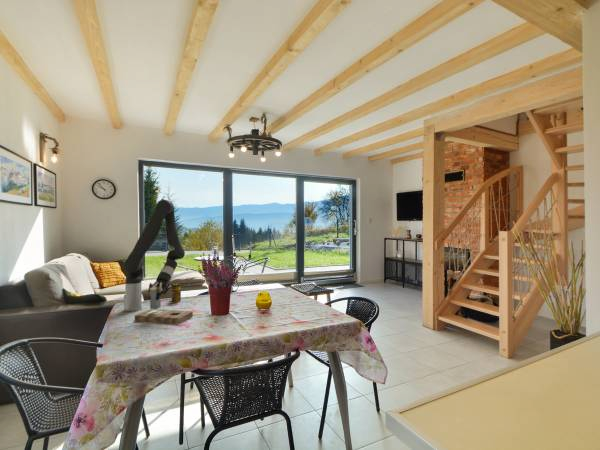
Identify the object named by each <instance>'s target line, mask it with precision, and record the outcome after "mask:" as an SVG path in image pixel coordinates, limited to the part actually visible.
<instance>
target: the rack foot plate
mask: <svg viewBox="0 0 600 450" xmlns="http://www.w3.org/2000/svg"><path fill="white" fill-rule="evenodd" d="M193 311H194V310H193ZM193 311H192V310H191V311H190V310H177V309H176V310H174V309H164V308H163V309H160V308H158V309H150V308H149V309H146V310H145V311H142V312H140V313H137V314H135V315H134V321H137V322H151V323H152V322H153V323H162V324H163V323H164V324H165V323H166V324H176V325H180V324H181V323H183V322H184V321H187V320H188V319H191V318H192V317H193Z"/></svg>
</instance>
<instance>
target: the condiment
mask: <svg viewBox="0 0 600 450" xmlns="http://www.w3.org/2000/svg"><path fill="white" fill-rule="evenodd" d="M181 290H182V289H181V284H179V283H174V284H172V285H171V300H167V301H166V302H168V303H169V304H174V303H182V302H183V300H182V299H181V298H182V291H181Z"/></svg>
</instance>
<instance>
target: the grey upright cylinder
mask: <svg viewBox="0 0 600 450" xmlns="http://www.w3.org/2000/svg"><path fill="white" fill-rule="evenodd" d="M159 290H160V287H152V288H150V292H149V295H150V300H149V307H150V308H149V309H160V308H161V307H162V304H161V303H162V302H161V299H162V298H161V297H162V296H161V297H160V299H159V300H156V299H155V298H156V296H157V294H158V293H159Z"/></svg>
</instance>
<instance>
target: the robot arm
mask: <svg viewBox="0 0 600 450" xmlns="http://www.w3.org/2000/svg"><path fill="white" fill-rule="evenodd" d="M163 221H164V224H165V235H166V240H167V244H168V246H169V247H173V249H170V250H169V251H168V253H167V256H166V259H165V263H164V265H163V267H162V268H161V270H160V271H159V273H158V275H157V277H156V279H155V282H153V283H152V282H151V283H149V285H148V290H147V291H148V292H149V293H150V288H152V287H160V290H159V293H158V294H157V296H156V298H155V299H156V300H159V299H160V297H162V296H163V295H165V294H166V293H168V292H169V290H171V289H172V285H171V284H170V282H171V279H172V278H173V275H174V274H175V270H176V268H177V266H178V262H177V260H181V259H182V260H183V258H184V257H185V253H186V252H185V249H184V247H183V246H182V243H181V242H180V238H179V235H178V230H177V225H176V219H175V206H174V203H173V202H172V201H170V200H168V199H161V200H159V201H158V202H157V203H156V205H155V207H154V210H153V212H152V214H151V217H150V219H149V220H148V221H147V224H145V227H144V228H143V230H142V232H141V233H140V235H139V238H138V239H137V241H136V243H135V245H134V247H133V249H132V251H131V252H130V254H129V255H128V256H127V258H126V259H125V261H124V262H123V265H122V266H123V270H124V271H125V272H126V273H127V274H126V277H125V280H124V283H125V287H124V289H125V290H124V291H125V293H124V295H123V310H124V311H126V312H136V311H139V310H142V303H143V302H142V295H143V294H142V291H143V290H142V279H143V275H144V271H143V270H144V264H143V260H142V259H143V257H144V256H145V254H146V253H147V252H148V251H149V249H151V248H152V246H153V245H154V244H155V241H156V240H157V238H158V237H159V234H160V230H161V226H162V224H163ZM148 300H149V301H150V294H149V295H148Z"/></svg>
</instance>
